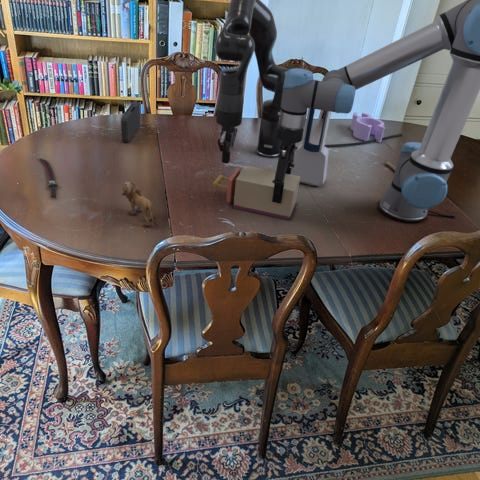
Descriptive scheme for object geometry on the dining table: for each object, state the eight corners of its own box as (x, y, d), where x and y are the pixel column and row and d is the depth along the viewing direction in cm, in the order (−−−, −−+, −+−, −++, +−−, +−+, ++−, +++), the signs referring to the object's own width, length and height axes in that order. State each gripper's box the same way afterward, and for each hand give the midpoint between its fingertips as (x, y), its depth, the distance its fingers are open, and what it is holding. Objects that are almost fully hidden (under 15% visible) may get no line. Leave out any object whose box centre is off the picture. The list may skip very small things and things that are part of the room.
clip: (343, 126, 223) (346, 112, 219) (367, 127, 225) (371, 113, 221) (360, 142, 206) (364, 127, 202) (386, 142, 209) (390, 127, 205)
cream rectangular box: (233, 207, 146) (236, 179, 141) (242, 192, 155) (245, 165, 150) (289, 219, 143) (294, 191, 137) (295, 203, 152) (300, 176, 147)
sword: (61, 197, 141) (61, 193, 140) (50, 198, 139) (50, 194, 139) (49, 160, 164) (48, 156, 163) (39, 160, 163) (39, 157, 162)
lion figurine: (118, 210, 138) (116, 182, 133) (132, 204, 141) (131, 177, 137) (151, 229, 130) (150, 201, 126) (165, 223, 134) (165, 195, 129)
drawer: (209, 198, 147) (211, 176, 143) (219, 185, 156) (221, 164, 151) (277, 213, 143) (281, 190, 139) (283, 199, 152) (287, 177, 147)
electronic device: (325, 180, 169) (342, 97, 152) (321, 188, 163) (339, 103, 146) (292, 173, 172) (306, 91, 155) (287, 181, 165) (301, 96, 149)
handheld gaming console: (134, 123, 200) (133, 100, 195) (140, 124, 200) (140, 100, 195) (121, 142, 181) (119, 117, 175) (128, 143, 181) (127, 118, 175)
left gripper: (224, 99, 142) (220, 152, 151) (210, 111, 131) (207, 168, 140) (248, 103, 140) (242, 157, 150) (236, 115, 130) (231, 172, 139)
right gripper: (286, 112, 144) (276, 176, 156) (269, 136, 124) (260, 208, 136) (310, 116, 143) (298, 181, 154) (296, 142, 123) (285, 213, 135)
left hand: (225, 162), depth 145 cm, fingers closed
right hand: (280, 193), depth 145 cm, fingers closed on cream rectangular box, 11 cm apart
